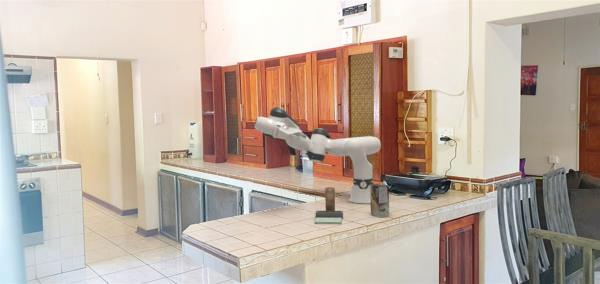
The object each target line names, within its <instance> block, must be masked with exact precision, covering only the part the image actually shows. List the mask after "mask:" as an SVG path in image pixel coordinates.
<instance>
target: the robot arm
mask: <svg viewBox="0 0 600 284" xmlns="http://www.w3.org/2000/svg"><path fill="white" fill-rule="evenodd" d="M254 129H255V130H256V131H258V132H261V133H262V134H263V135H264V137H266V138H270V139H272V140H276V139H281V140H284V141H285V143H286V144H287V145H288V146H289V147H290V148H293V149H295V150H298V151H304V152H305V156H307V158H308V159H309V160H310V161H311V162H313V163H322V162H324V160H325V158H326V153H327V154H328V155H330V156H334V157H349V158H350V159H351V161H352V166H353V180H352V184H353V185H352V186H351V187H350V197H349V198H348V199H347V202H352V203H353V204H371V191H370V184H374V177H373V164H372V163H371V162H370V161H368V156H369V155H373V154H376V153H378V152H380V150H381V146H382V143H381V140H380V139H379V138H378V137H376V136H370V135H367V136H357V137H355V136H354V137H346V138H345V137H343V138H337V139H332V136H331V135H330V134H329V132H328V131H327V130H326V129H324V128H319V127H318V128H314V129H313V130H312V132H311V137H308V135H307V134H305V133H303V130H301V129H300V125H299V124H298V122H297V121H296V120H294V119H293V118H292V116H290V115H289V114H288V112H287V111H286V110H285V109H284V108H281V107H280V106H279V107H278V106H277V107H273V108H272V109H270V112H269V117H266V116H257V117H256V120H255V121H254ZM367 155H368V156H367Z"/></svg>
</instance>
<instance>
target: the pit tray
mask: <svg viewBox="0 0 600 284" xmlns="http://www.w3.org/2000/svg"><path fill="white" fill-rule="evenodd" d="M316 218H342V220H343V219H344V211H343V210H335V211H326V210H316V211H315V219H316Z"/></svg>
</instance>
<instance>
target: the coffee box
mask: <svg viewBox="0 0 600 284" xmlns="http://www.w3.org/2000/svg"><path fill="white" fill-rule="evenodd" d="M389 187H390V186H389V185H388V184H387V185H386V184H383V183H373V184H370V191H371V203H370V215H371V216H374V217H378V218H385V217H390V188H389Z"/></svg>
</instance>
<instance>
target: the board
mask: <svg viewBox="0 0 600 284" xmlns="http://www.w3.org/2000/svg"><path fill="white" fill-rule="evenodd" d="M342 221H343V219H342V218H316V217H315V220H314V225H342V223H343V222H342Z"/></svg>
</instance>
